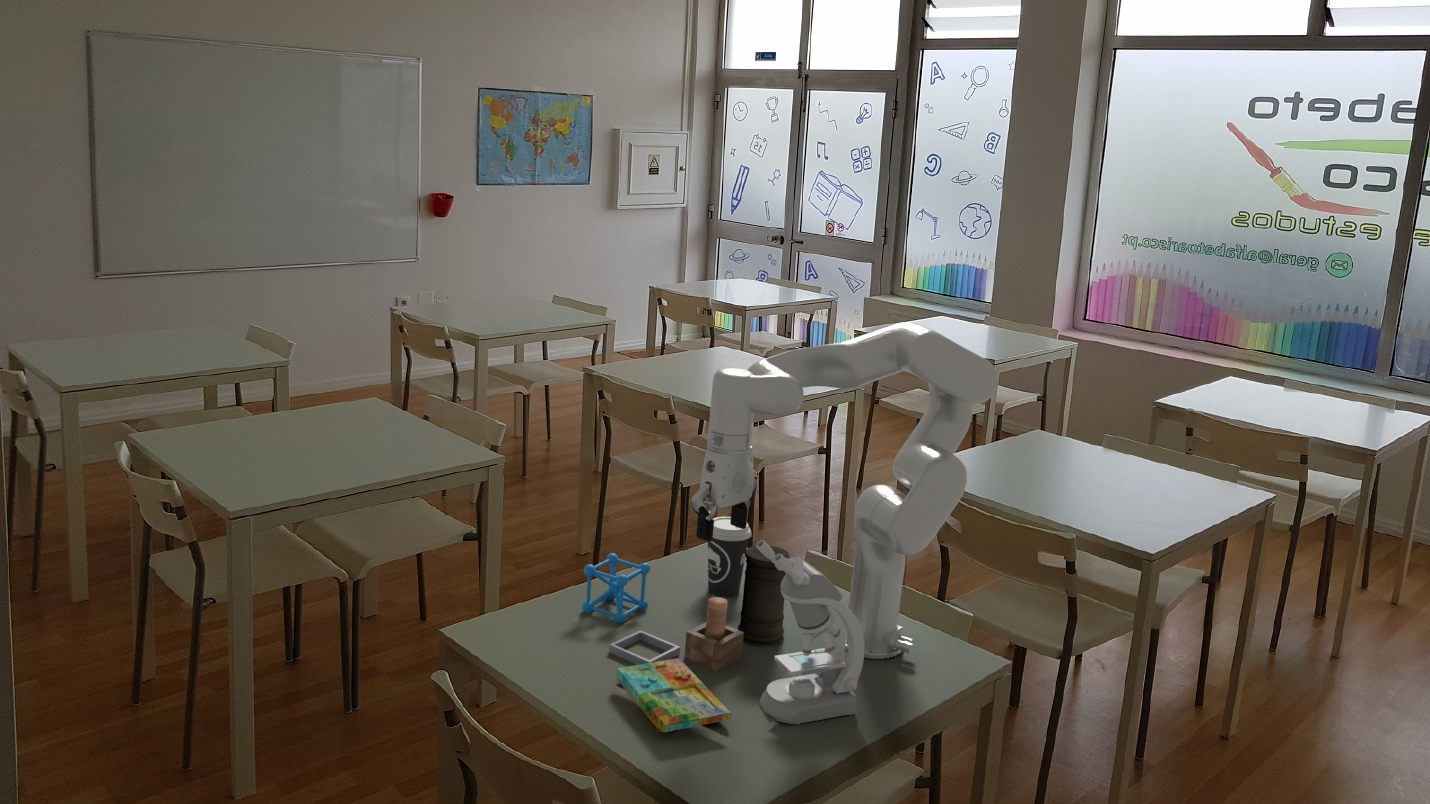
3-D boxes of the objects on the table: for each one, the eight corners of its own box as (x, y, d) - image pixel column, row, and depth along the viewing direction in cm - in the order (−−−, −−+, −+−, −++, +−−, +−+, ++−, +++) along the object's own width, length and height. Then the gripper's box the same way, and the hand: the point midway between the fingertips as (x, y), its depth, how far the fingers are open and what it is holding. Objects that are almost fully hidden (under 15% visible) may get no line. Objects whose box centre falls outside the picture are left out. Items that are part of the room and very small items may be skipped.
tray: (679, 659, 205) (680, 646, 204) (648, 675, 198) (649, 662, 198) (639, 642, 210) (640, 630, 210) (608, 657, 204) (609, 644, 203)
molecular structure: (621, 626, 216) (624, 578, 214) (579, 612, 221) (581, 564, 219) (649, 609, 225) (653, 562, 222) (608, 596, 229) (611, 550, 227)
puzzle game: (678, 653, 198) (731, 708, 181) (676, 677, 199) (729, 734, 182) (616, 663, 192) (665, 720, 175) (614, 688, 193) (663, 748, 176)
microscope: (735, 702, 191) (750, 535, 184) (830, 686, 199) (848, 526, 192) (765, 734, 182) (782, 560, 175) (864, 716, 190) (883, 549, 183)
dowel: (726, 657, 205) (731, 601, 202) (714, 663, 202) (719, 607, 199) (711, 651, 207) (715, 595, 204) (699, 657, 204) (704, 601, 201)
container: (790, 638, 217) (799, 550, 213) (772, 656, 209) (781, 565, 205) (747, 626, 220) (755, 540, 216) (728, 643, 213) (736, 554, 208)
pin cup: (741, 662, 205) (743, 632, 204) (716, 676, 200) (719, 645, 198) (708, 649, 210) (711, 619, 208) (684, 662, 204) (686, 631, 202)
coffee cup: (741, 602, 231) (747, 534, 228) (696, 595, 233) (701, 527, 229) (750, 585, 240) (755, 518, 237) (706, 578, 242) (711, 512, 238)
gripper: (715, 453, 187) (707, 550, 191) (775, 436, 200) (767, 527, 204) (680, 443, 191) (673, 538, 195) (742, 427, 205) (734, 516, 209)
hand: (721, 532), depth 200 cm, fingers open, 9 cm apart
